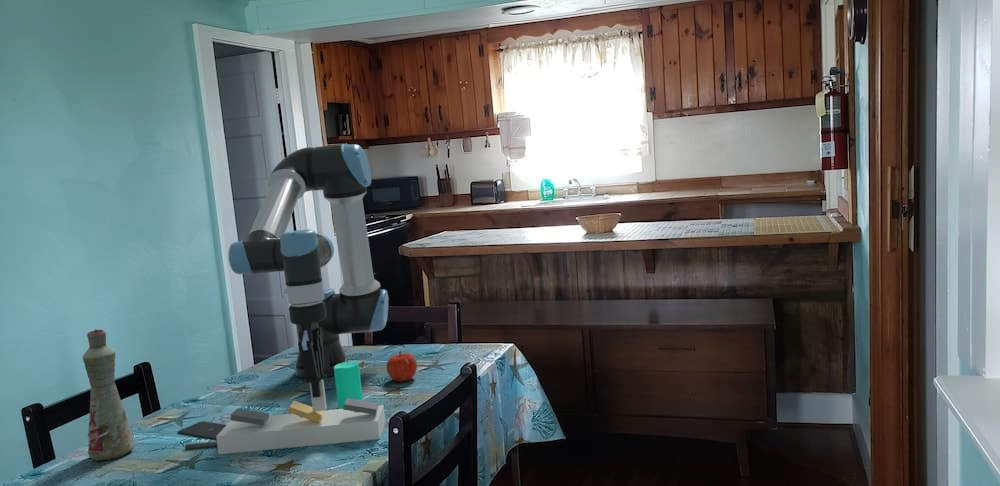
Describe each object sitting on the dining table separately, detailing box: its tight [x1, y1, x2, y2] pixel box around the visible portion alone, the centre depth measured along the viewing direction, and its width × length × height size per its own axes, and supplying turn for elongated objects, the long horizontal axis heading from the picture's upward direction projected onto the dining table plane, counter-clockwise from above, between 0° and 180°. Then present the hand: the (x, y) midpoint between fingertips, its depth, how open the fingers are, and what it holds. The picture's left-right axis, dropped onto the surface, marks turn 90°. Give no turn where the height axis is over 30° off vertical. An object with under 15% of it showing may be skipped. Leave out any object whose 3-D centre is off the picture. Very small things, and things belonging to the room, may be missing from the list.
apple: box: [386, 350, 418, 383], centre depth 192 cm, size 8×8×8 cm
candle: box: [334, 359, 364, 409], centre depth 174 cm, size 6×6×12 cm
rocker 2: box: [287, 400, 324, 423], centre depth 154 cm, size 4×7×1 cm, turn 92°
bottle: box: [82, 328, 136, 461], centre depth 154 cm, size 9×9×28 cm
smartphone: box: [177, 420, 227, 441], centre depth 165 cm, size 7×1×15 cm
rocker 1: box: [230, 408, 270, 425], centre depth 154 cm, size 4×7×1 cm, turn 92°
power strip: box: [184, 404, 386, 455], centre depth 156 cm, size 10×43×4 cm, turn 92°
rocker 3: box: [343, 398, 380, 415], centre depth 155 cm, size 4×7×1 cm, turn 92°
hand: (319, 409), depth 154 cm, fingers closed
